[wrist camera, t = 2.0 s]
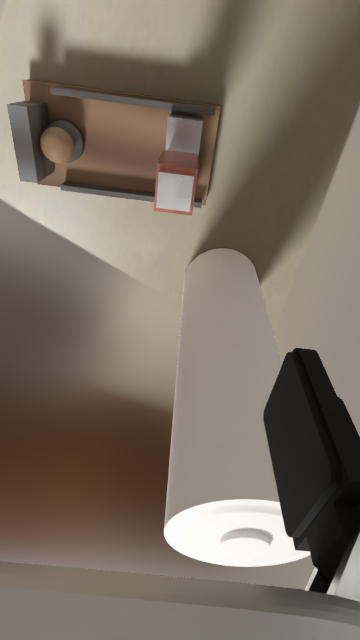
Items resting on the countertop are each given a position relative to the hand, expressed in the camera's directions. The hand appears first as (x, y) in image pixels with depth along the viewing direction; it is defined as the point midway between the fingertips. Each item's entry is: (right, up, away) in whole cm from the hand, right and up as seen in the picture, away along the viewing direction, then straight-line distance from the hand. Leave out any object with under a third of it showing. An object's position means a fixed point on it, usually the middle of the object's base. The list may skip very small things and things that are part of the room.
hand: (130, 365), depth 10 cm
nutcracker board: (-4, +19, +24) cm, 31 cm away
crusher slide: (+2, +18, +22) cm, 29 cm away
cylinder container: (+7, +6, +33) cm, 34 cm away
